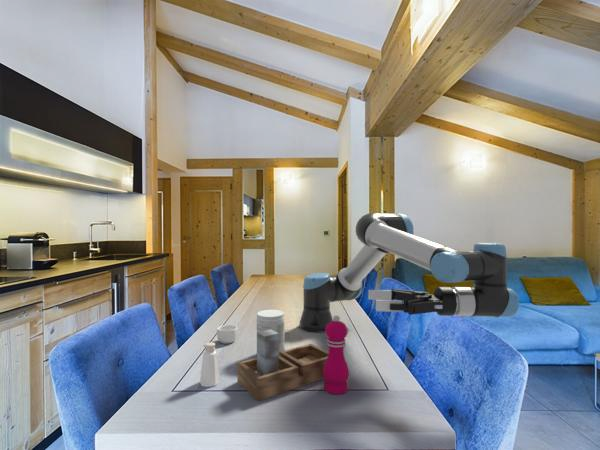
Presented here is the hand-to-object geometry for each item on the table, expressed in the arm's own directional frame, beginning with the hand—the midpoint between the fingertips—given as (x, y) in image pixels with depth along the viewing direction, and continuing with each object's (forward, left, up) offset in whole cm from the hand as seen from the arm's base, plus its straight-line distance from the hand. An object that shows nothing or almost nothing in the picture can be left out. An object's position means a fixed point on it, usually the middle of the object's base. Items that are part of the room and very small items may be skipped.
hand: (371, 299), depth 89 cm
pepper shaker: (+34, -29, -25) cm, 51 cm away
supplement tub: (+10, -36, -25) cm, 45 cm away
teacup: (+16, -58, -25) cm, 65 cm away
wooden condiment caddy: (+13, -19, -25) cm, 33 cm away
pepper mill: (+7, -6, -25) cm, 27 cm away
